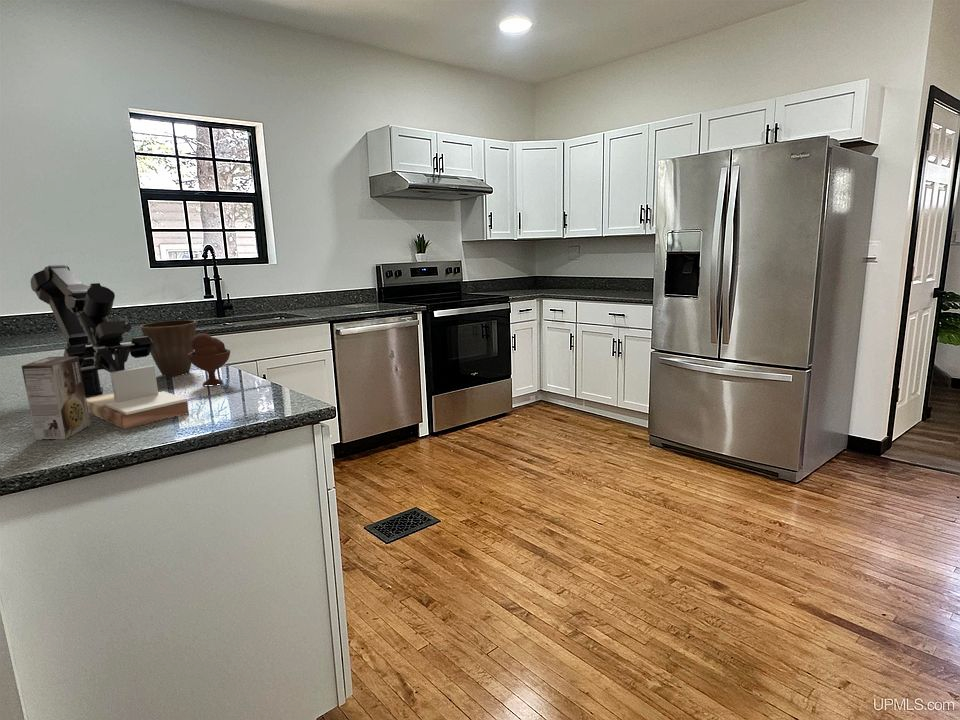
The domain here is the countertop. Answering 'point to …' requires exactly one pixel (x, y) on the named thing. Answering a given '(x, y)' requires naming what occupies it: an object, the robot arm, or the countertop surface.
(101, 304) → the robot arm
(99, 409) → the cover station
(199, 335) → the ice cream bowl
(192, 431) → the countertop surface
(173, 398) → the white l-shaped piece
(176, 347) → the plant pot
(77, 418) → the coffee box
